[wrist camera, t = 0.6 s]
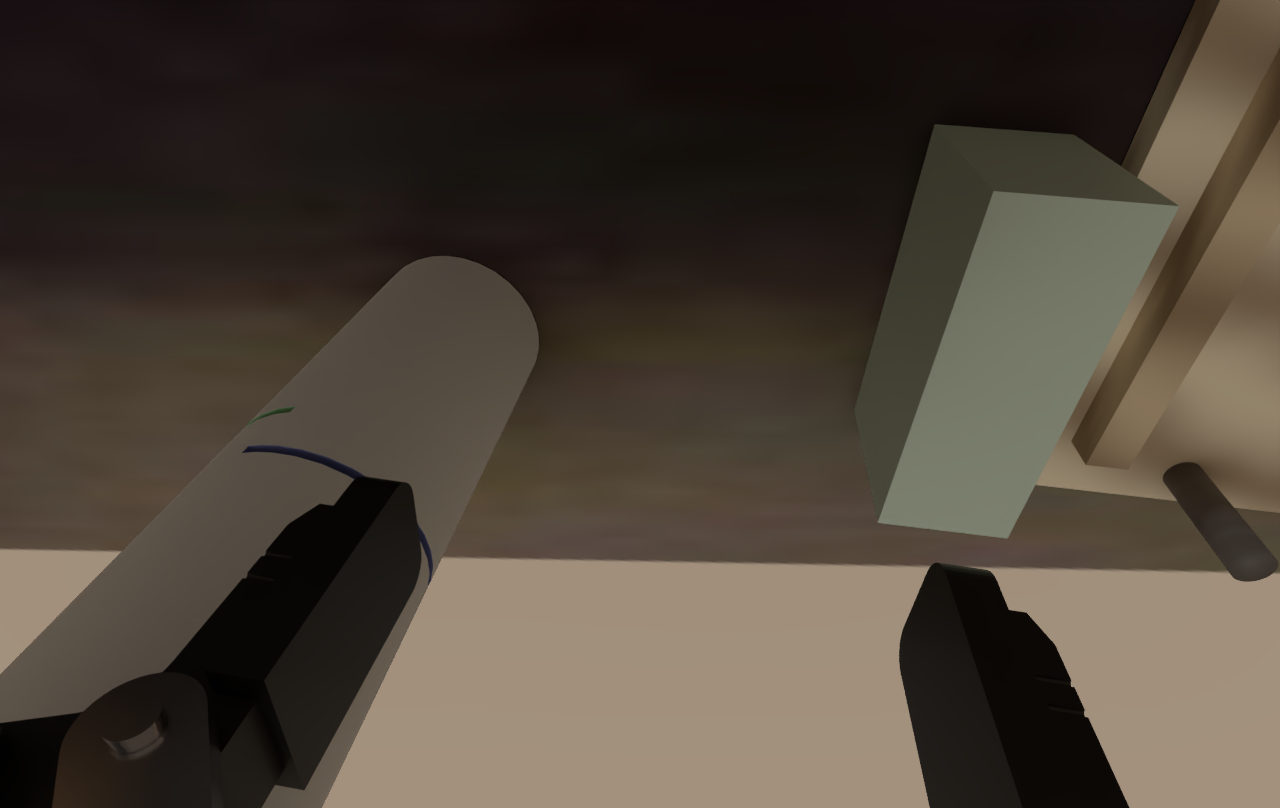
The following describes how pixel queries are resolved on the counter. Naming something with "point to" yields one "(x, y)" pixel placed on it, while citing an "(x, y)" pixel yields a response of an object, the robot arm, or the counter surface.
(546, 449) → the counter surface
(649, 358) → the counter surface
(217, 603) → the cylindrical container
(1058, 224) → the rectangular block
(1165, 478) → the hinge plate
